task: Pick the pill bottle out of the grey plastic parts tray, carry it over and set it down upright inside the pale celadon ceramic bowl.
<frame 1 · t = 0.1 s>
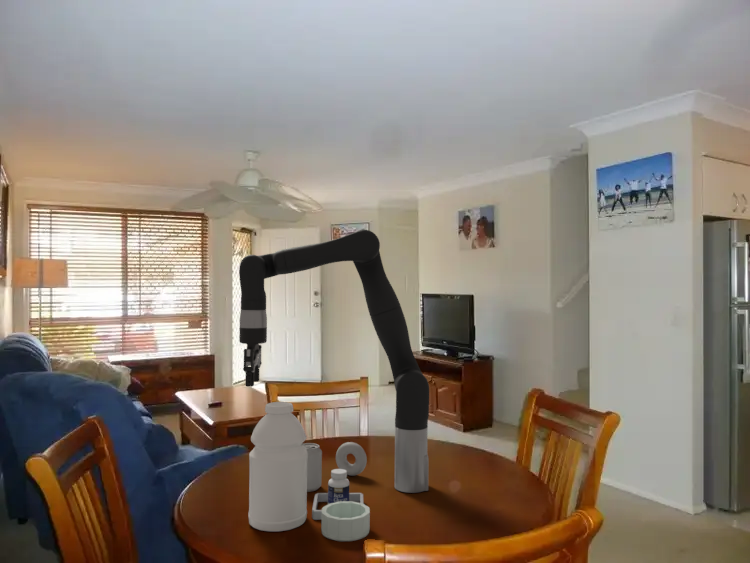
hand: (252, 383, 160), 29 cm above the table, fingers open, 8 cm apart
bottle: (277, 521, 137), on the table
bowl: (345, 531, 132), on the table
tray: (338, 509, 144), on the table
donut: (350, 476, 172), on the table
can: (308, 488, 160), on the table
pill bottle: (338, 510, 144), resting in tray
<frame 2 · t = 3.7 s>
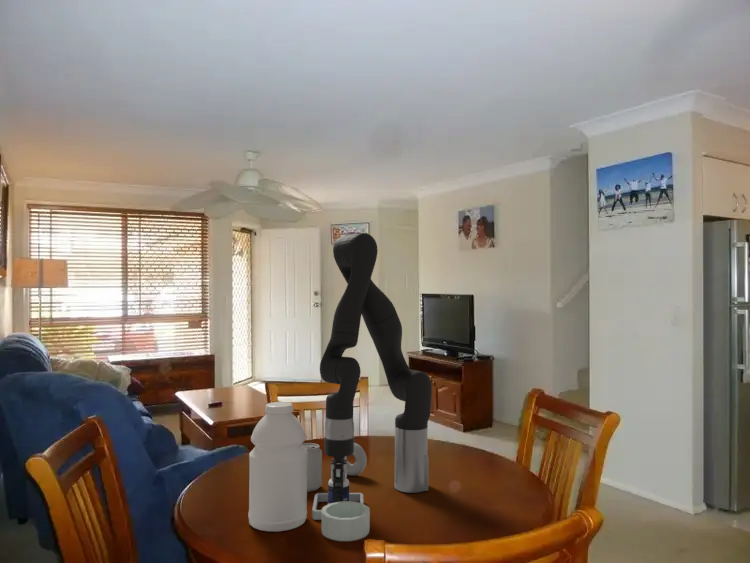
hand: (338, 501, 145), 2 cm above the table, fingers closed on pill bottle, 5 cm apart
pill bottle: (338, 510, 144), resting in tray, touching gripper
everything else where it was.
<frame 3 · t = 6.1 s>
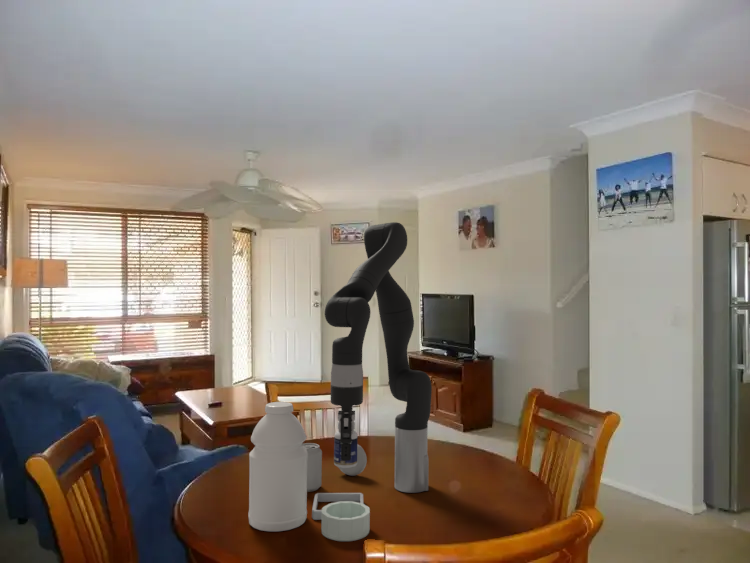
hand: (346, 455, 132), 17 cm above the table, fingers closed on pill bottle, 5 cm apart
pill bottle: (345, 465, 132), point 15 cm above the table, touching gripper
everything else where it was.
when the fingers open (5 cm above the table, at t = 8.8 s): pill bottle drops 2 cm, resting on bowl.
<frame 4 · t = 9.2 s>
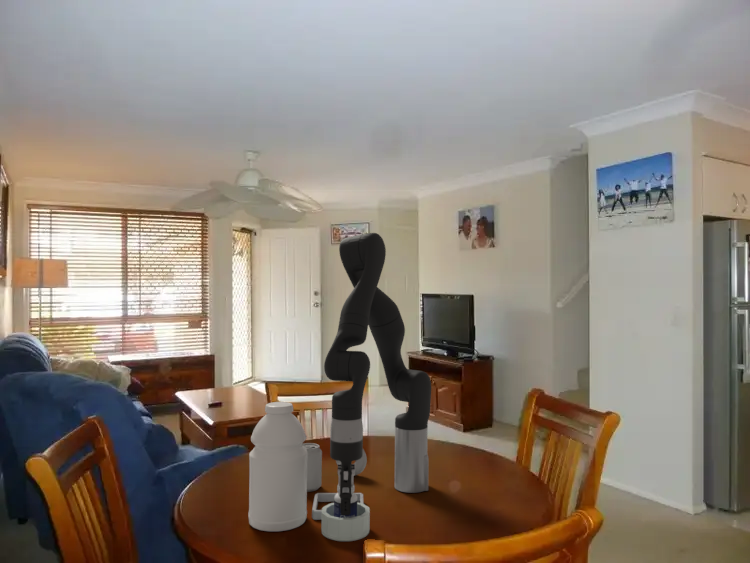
hand: (345, 507, 132), 5 cm above the table, fingers open, 8 cm apart
pill bottle: (345, 528, 132), point 1 cm above the table, touching bowl
everything else where it was.
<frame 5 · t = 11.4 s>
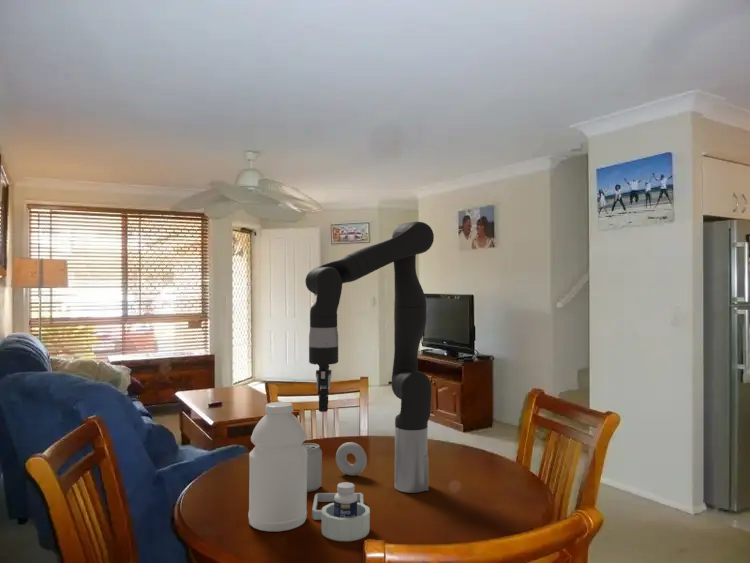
hand: (323, 408, 146), 25 cm above the table, fingers open, 8 cm apart
nothing on the table moved.
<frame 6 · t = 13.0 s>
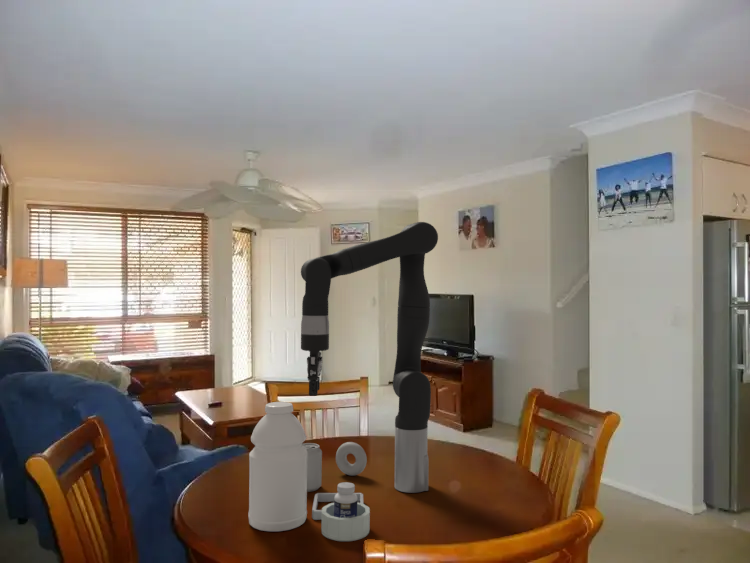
hand: (314, 392, 153), 28 cm above the table, fingers open, 8 cm apart
nothing on the table moved.
at the end: pill bottle inside the target area on the bowl (0.1 cm from its centre), point 0.6 cm above the bowl's base; pill bottle tilted 0°; the gripper is holding nothing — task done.
